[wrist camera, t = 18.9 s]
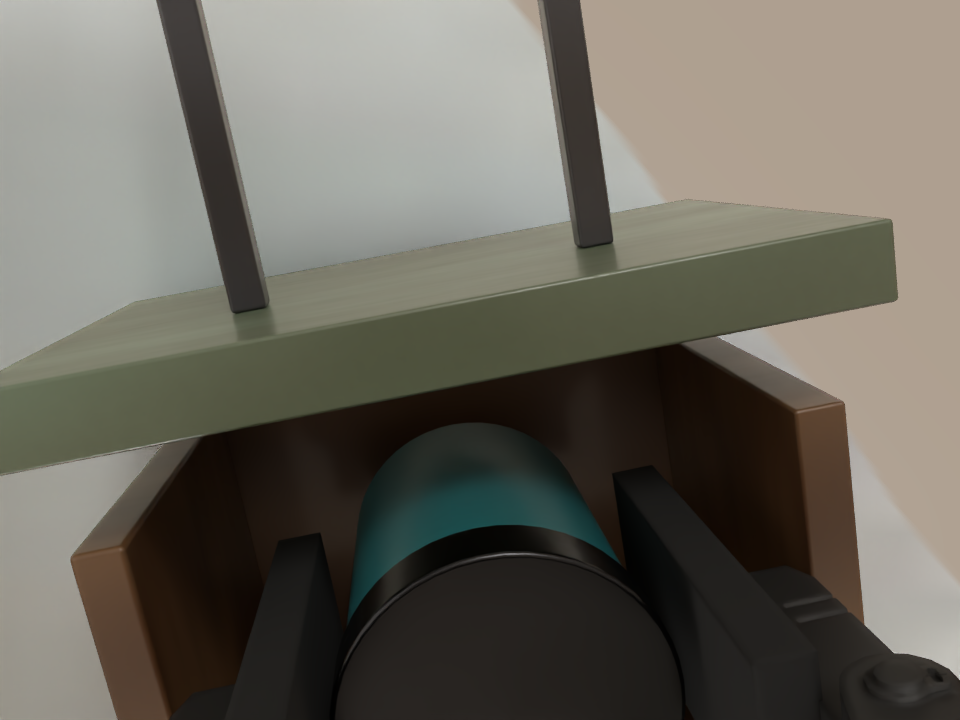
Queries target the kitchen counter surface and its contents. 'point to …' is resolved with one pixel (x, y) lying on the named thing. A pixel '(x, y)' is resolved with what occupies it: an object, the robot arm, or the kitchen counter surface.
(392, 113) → the kitchen counter surface
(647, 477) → the robot arm
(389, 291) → the drawer
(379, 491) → the tin
